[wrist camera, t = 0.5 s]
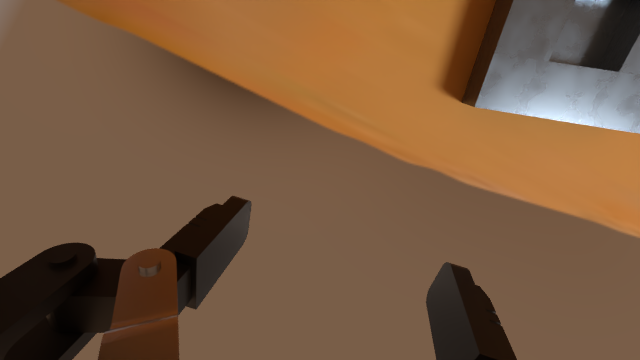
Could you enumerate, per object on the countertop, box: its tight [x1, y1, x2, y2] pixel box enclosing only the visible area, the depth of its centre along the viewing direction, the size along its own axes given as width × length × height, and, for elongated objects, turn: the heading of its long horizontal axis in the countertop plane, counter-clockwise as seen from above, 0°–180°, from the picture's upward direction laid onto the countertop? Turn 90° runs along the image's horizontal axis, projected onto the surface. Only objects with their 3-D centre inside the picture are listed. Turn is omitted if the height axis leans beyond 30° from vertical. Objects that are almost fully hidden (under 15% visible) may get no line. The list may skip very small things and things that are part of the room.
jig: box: [461, 0, 640, 134], centre depth 28 cm, size 18×18×4 cm
